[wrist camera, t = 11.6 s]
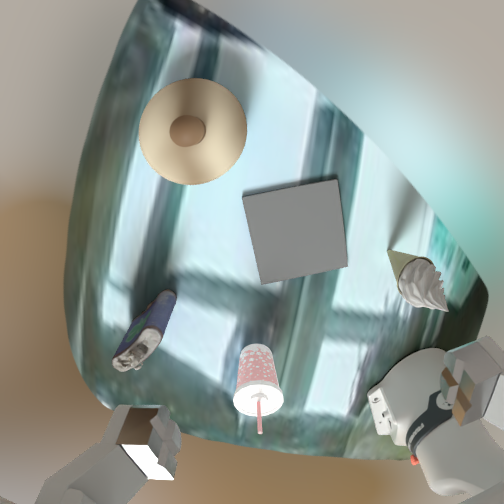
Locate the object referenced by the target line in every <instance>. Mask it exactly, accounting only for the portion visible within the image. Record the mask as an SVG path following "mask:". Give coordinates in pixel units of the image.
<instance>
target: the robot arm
mask: <svg viewBox="0 0 504 504" xmlns="http://www.w3.org/2000/svg"><path fill="white" fill-rule="evenodd" d="M367 397H368V400H369V404H370V408H371V412H372V415H373V419H374V423H375V427H376V431H377V433H378V434H379V435H389V434H390V435H391V437H392V440H393V442H394V444H396V445H400V446H408V448H409V450H410V452H412V453H413V455H411V462H412V464H413V465H416V464H418V463H420V465H421V467H422V470H423V472H424V475H425V477H426V479H427V482H428V484H429V487H430V488H431V489H432V490H433V491H434V492H436V493H437V494H440V495H444V496H451V495H459V494H464V493H469V494H470V495H471V496H472V497H471V498H469V499H467V500H465V501H463V502H461V503H459V504H504V450H503V449H502V448H501V447H500V446H499V445H498V444H497V443H496V442H495V440H494V439H493V438H492V436H491V435H490V434H489V432H488V431H487V429H486V428H485V427H484V425H483V424H482V422H481V420H480V418H482V417H484V419H485V420H487V421H488V422H490V423H492V424H494V425H495V426H497V427H499V428H500V429H502V430H504V351H503V350H502V349H501V348H500V347H499V346H498V345H497V344H496V342H495V341H494V340H493V339H492V338H491V337H489V336H485V337H483V338H481V339H478V340H475V341H474V342H470V343H468V344H465V345H463V346H460V347H457V348H455V349H452V350H449V351H447V352H445V351H444V350H442V349H439V348H428V349H424V350H420V351H418V352H415V353H413V354H411V355H409V356H408V357H406V358H404V359H403V360H402V361H400V362H399V363H398V364H396V365H395V366H394V367H393V368H392V369H391V370H390V371H389V373H388V374H387V375H386V376H385V378H384V379H383V380H382V381H381V382H380V383H379V384H377V385H376V386H375V387H373V388H372V389H371V390H370V391H369V392H368V393H367ZM169 417H170V412H169V410H168V408H167V407H166V406H164V405H119V406H117V407H116V409H115V411H114V413H113V415H112V417H111V420H110V422H109V424H108V427H107V429H106V431H105V433H104V436H103V438H102V440H101V442H100V443H95V444H94V445H93V446H91V447H90V448H89V449H87V450H86V451H85V452H84V453H82V454H81V455H79V456H78V457H77V458H75V459H74V460H73V461H71V462H70V463H69V464H67V465H66V466H65V467H63V468H62V469H60V470H59V471H58V472H56V473H55V474H53V475H52V476H51V477H49V478H48V479H46V480H45V483H44V485H43V487H42V489H41V491H40V493H39V495H38V498H37V500H36V502H35V504H127V503H128V502H129V501H130V500H131V499H132V497H133V496H134V495H135V494H136V493H137V492H138V491H139V490H140V489H141V488H142V487H143V485H144V484H145V483H146V482H147V481H148V479H174V475H175V471H176V466H177V461H176V460H175V458H174V456H175V455H176V454H177V453H178V452H179V451H180V448H181V433H180V430H179V427H178V425H177V424H176V422H174V421H172V420H171V419H169ZM0 504H15V503H13V502H11V501H9V500H7V499H5V498H3V497H1V496H0Z"/></svg>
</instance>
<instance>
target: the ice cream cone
mask: <svg viewBox="0 0 504 504" xmlns="http://www.w3.org/2000/svg"><path fill="white" fill-rule="evenodd" d="M387 253H388V256H389V259H390V262H391V265H392V269H393V272H394V275H395V278H396V281H397V288H398V291H399V293H400V294H401V295H402V297H403V298H404V299H405V300H406V301H407V302H408V303H410V304H411V305H413V306H415V307H428V308H430V309H438V310H443V311H446V312H449V311H448V308H447V304H446V300H445V295H443V293H444V288H442V285H443V282H444V281H443V280H441V281H440V280H438V279H439V277H440V276H441V272H438V271H436V272H435V269H436V267H435V266H434V264H433V262H432V261H431V260H430V259H428V258H426V257H418V256H414V255H410V254H406V253H401V252H397V251H393V250H388V251H387ZM441 288H442V289H441Z"/></svg>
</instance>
